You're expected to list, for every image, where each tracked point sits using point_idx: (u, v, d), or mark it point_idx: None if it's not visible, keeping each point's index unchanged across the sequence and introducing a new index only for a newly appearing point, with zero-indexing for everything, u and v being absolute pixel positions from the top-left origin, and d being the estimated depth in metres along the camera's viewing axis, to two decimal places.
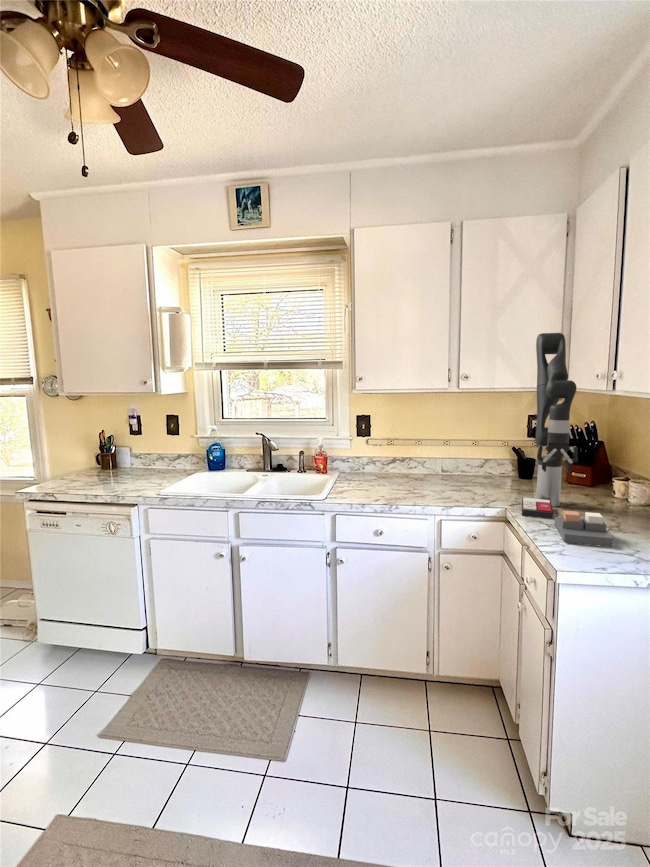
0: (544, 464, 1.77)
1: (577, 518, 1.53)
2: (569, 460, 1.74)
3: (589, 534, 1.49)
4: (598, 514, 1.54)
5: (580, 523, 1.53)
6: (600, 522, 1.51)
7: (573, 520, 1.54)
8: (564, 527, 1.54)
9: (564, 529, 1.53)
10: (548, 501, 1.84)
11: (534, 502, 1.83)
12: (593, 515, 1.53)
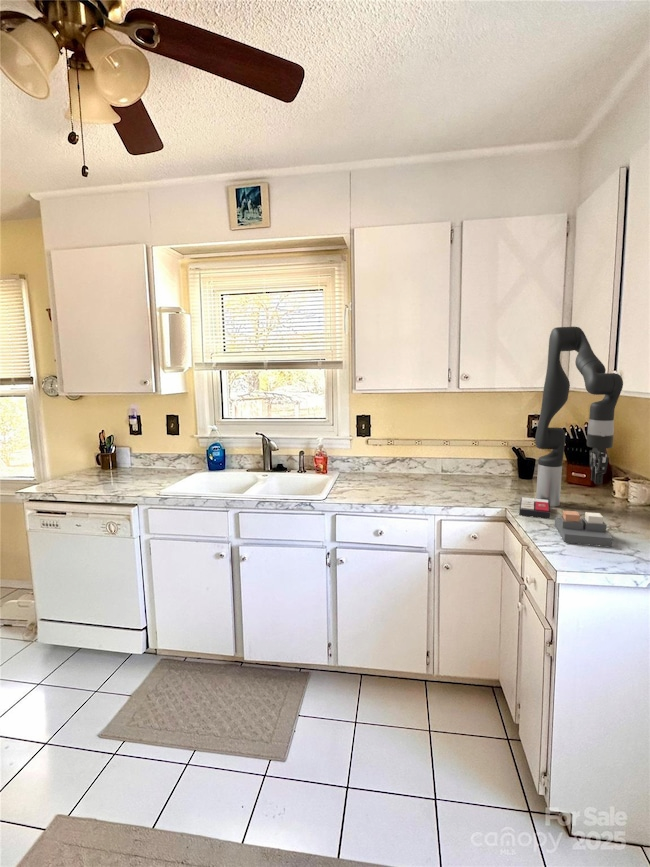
0: (602, 476, 1.49)
1: (577, 518, 1.53)
2: None
3: (589, 534, 1.49)
4: (598, 514, 1.54)
5: (580, 523, 1.53)
6: (600, 522, 1.51)
7: (573, 520, 1.54)
8: (564, 527, 1.54)
9: (564, 529, 1.53)
10: (546, 501, 1.84)
11: (532, 502, 1.83)
12: (593, 515, 1.53)
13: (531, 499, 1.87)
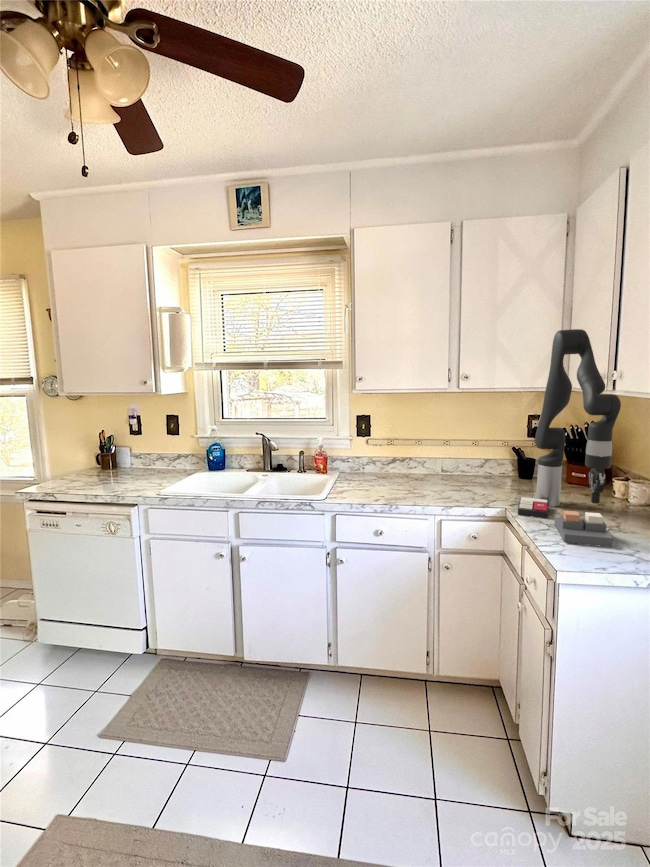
0: (599, 495, 1.52)
1: (577, 518, 1.53)
2: (599, 488, 1.52)
3: (589, 534, 1.49)
4: (598, 514, 1.54)
5: (580, 523, 1.53)
6: (600, 522, 1.51)
7: (573, 520, 1.54)
8: (564, 527, 1.54)
9: (564, 529, 1.53)
10: (546, 501, 1.84)
11: (531, 502, 1.83)
12: (593, 515, 1.53)
13: (530, 499, 1.87)
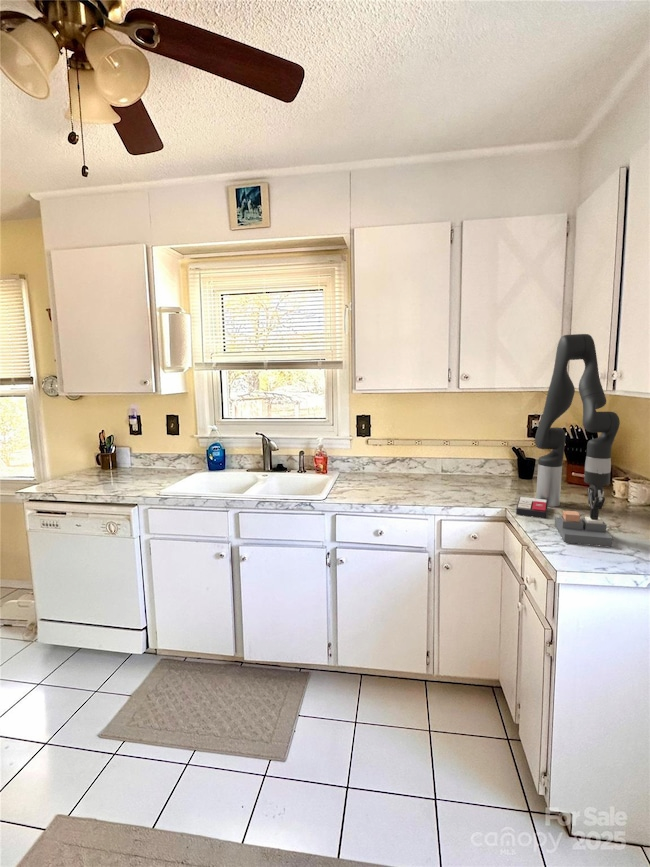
0: (598, 511, 1.53)
1: (577, 518, 1.53)
2: None
3: (589, 534, 1.49)
4: (598, 518, 1.54)
5: (580, 523, 1.53)
6: None
7: (573, 520, 1.54)
8: (564, 527, 1.54)
9: (564, 529, 1.53)
10: (545, 501, 1.84)
11: (530, 501, 1.84)
12: None
13: (529, 499, 1.87)
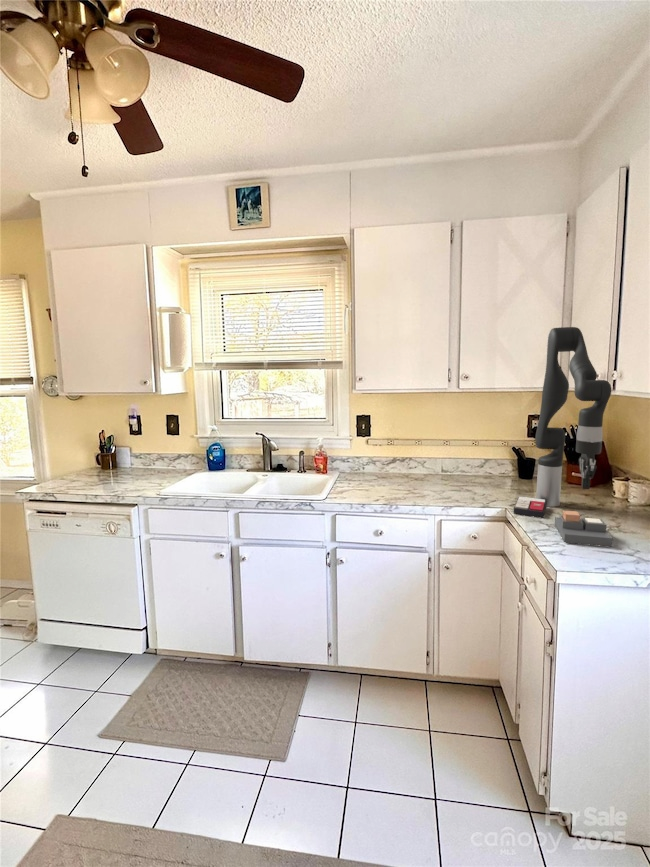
0: (589, 481, 1.52)
1: (577, 518, 1.53)
2: None
3: (589, 534, 1.49)
4: (598, 520, 1.54)
5: (580, 523, 1.53)
6: None
7: (573, 520, 1.54)
8: (564, 527, 1.54)
9: (564, 529, 1.53)
10: (543, 500, 1.85)
11: (528, 501, 1.84)
12: (593, 521, 1.53)
13: (528, 498, 1.88)
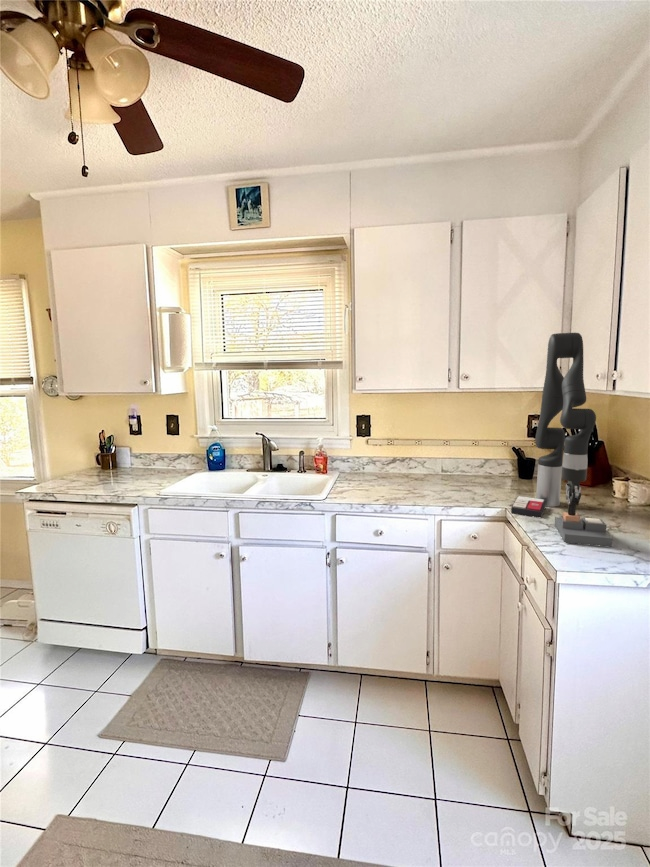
0: (575, 507, 1.55)
1: (577, 520, 1.54)
2: None
3: (589, 534, 1.49)
4: (598, 520, 1.54)
5: (580, 523, 1.53)
6: None
7: None
8: (564, 527, 1.54)
9: (564, 529, 1.53)
10: (542, 500, 1.85)
11: (526, 501, 1.85)
12: (593, 521, 1.53)
13: (526, 498, 1.88)
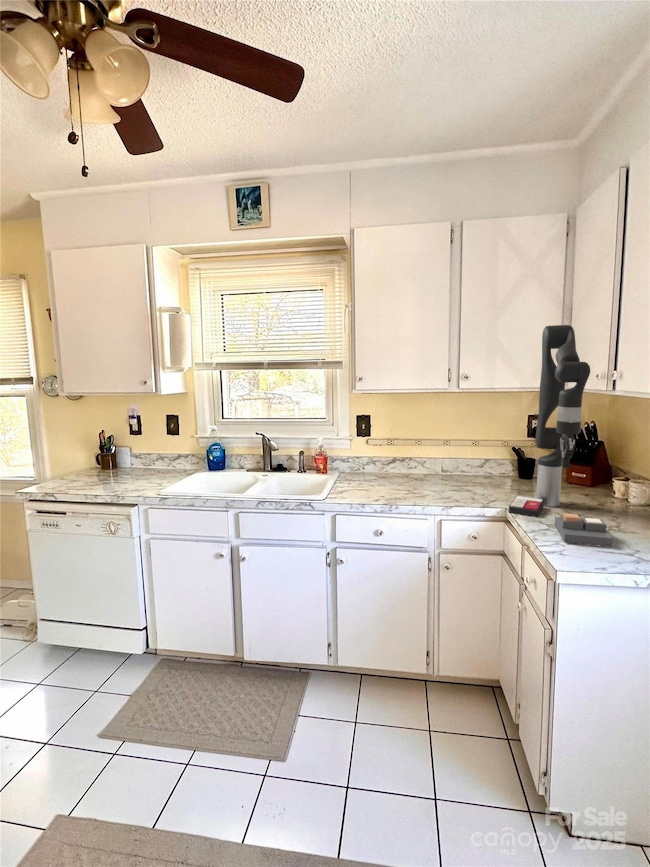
0: (569, 460, 1.57)
1: (577, 521, 1.54)
2: (570, 454, 1.58)
3: (589, 534, 1.49)
4: (598, 520, 1.54)
5: (580, 523, 1.53)
6: None
7: None
8: (564, 527, 1.54)
9: (564, 529, 1.53)
10: (540, 500, 1.85)
11: (525, 500, 1.85)
12: (593, 521, 1.53)
13: (525, 498, 1.89)
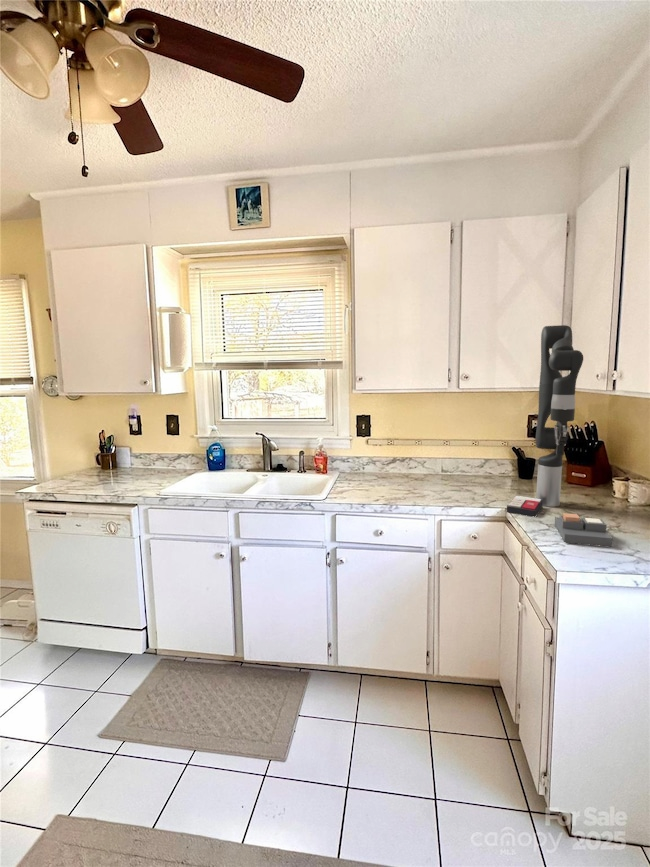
0: (563, 447, 1.59)
1: (577, 521, 1.54)
2: None
3: (589, 534, 1.49)
4: (598, 520, 1.54)
5: (580, 523, 1.53)
6: None
7: None
8: (564, 527, 1.54)
9: (564, 529, 1.53)
10: (539, 500, 1.86)
11: (523, 500, 1.86)
12: (593, 521, 1.53)
13: (524, 498, 1.89)
